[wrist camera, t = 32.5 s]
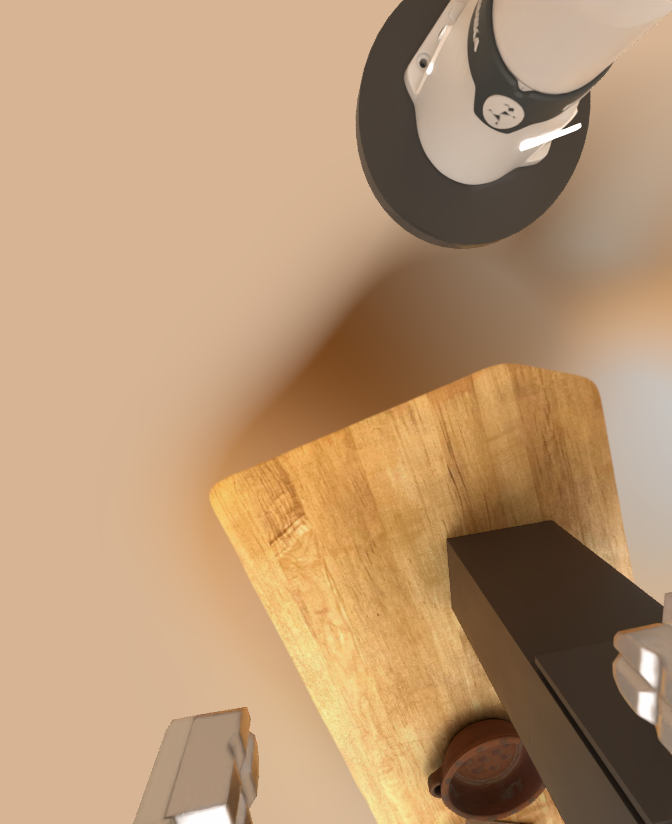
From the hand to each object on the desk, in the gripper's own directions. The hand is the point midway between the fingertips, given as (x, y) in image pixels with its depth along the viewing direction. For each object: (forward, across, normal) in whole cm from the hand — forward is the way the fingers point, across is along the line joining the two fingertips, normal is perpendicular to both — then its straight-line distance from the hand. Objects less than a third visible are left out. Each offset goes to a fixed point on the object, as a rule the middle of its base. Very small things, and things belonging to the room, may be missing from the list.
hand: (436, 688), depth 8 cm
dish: (+39, +17, -66) cm, 78 cm away
